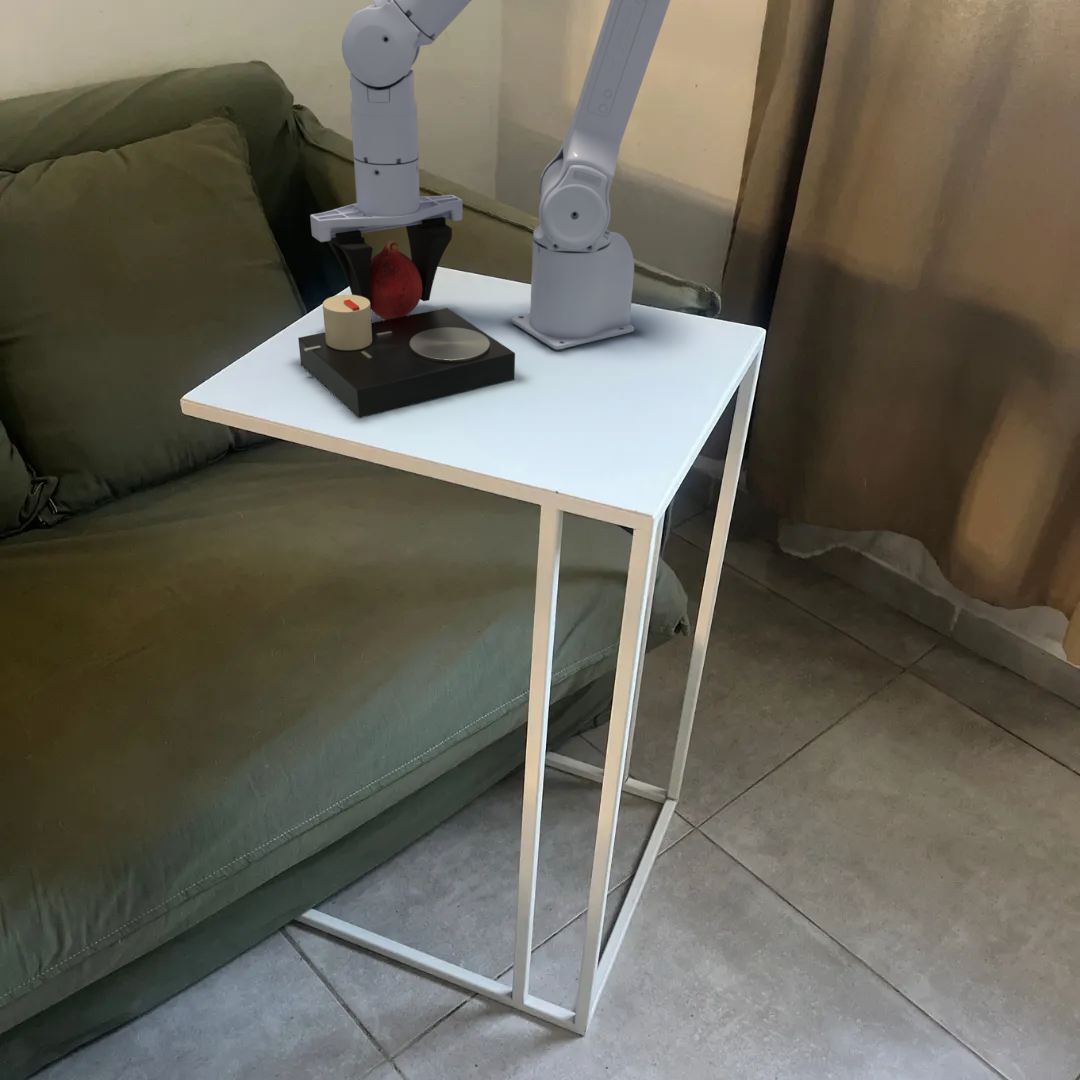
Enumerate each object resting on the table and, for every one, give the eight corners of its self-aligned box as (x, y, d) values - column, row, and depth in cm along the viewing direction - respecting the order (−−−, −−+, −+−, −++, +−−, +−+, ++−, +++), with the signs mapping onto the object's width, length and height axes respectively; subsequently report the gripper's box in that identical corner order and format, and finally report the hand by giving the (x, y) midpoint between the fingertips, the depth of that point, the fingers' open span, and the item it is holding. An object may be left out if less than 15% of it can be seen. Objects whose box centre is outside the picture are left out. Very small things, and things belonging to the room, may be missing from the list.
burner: (464, 325, 93) (464, 321, 92) (505, 352, 88) (505, 349, 88) (395, 339, 89) (395, 336, 89) (434, 369, 85) (434, 365, 84)
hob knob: (318, 337, 89) (314, 296, 87) (359, 329, 91) (357, 288, 89) (338, 354, 86) (334, 311, 84) (380, 344, 88) (378, 303, 86)
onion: (412, 337, 96) (409, 254, 92) (354, 330, 97) (349, 248, 92) (430, 315, 101) (428, 235, 96) (375, 309, 102) (370, 229, 97)
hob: (441, 328, 98) (441, 301, 97) (514, 379, 89) (515, 351, 88) (289, 360, 91) (286, 332, 89) (352, 419, 82) (350, 389, 80)
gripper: (436, 139, 96) (438, 278, 104) (291, 155, 89) (305, 302, 97) (473, 156, 91) (473, 300, 99) (324, 174, 85) (336, 328, 92)
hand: (393, 303), depth 98 cm, fingers closed on onion, 6 cm apart
